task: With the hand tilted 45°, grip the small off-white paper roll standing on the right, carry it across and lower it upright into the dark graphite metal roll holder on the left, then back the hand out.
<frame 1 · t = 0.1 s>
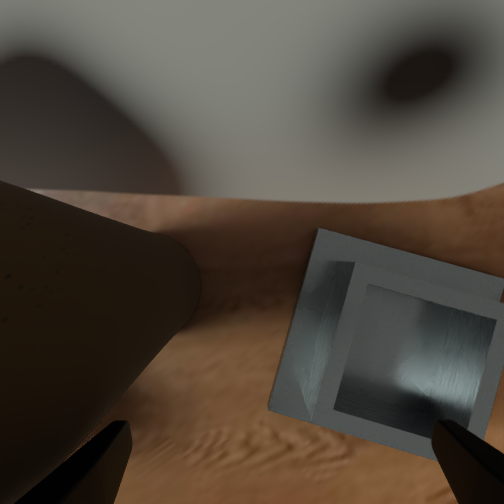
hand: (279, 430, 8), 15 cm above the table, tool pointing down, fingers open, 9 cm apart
roll holder: (380, 341, 23), on the table
olive oil: (150, 284, 24), on the table
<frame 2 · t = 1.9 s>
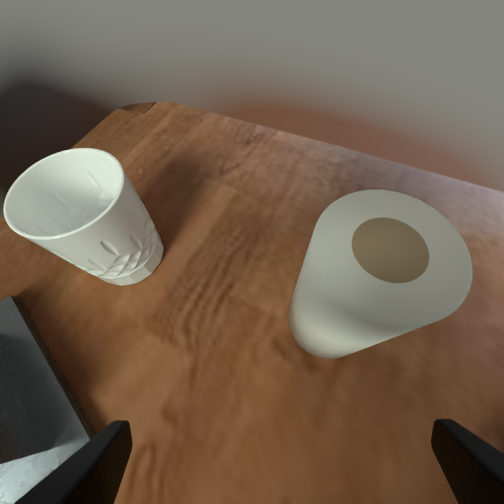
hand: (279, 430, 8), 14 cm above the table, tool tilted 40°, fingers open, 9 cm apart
paper roll: (325, 318, 23), on the table
white cup: (131, 255, 27), on the table
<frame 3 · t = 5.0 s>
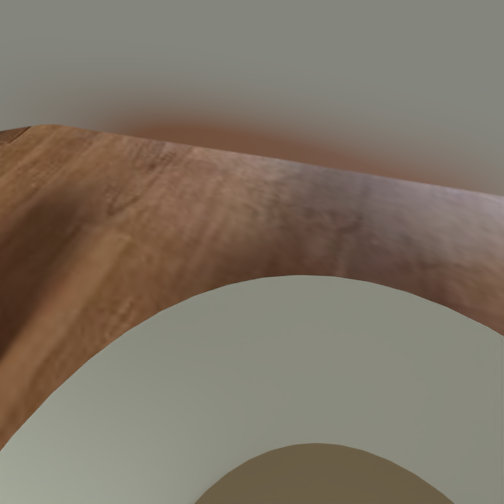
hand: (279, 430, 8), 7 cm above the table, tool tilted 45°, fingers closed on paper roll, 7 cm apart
paper roll: (273, 457, 13), on the table, touching gripper
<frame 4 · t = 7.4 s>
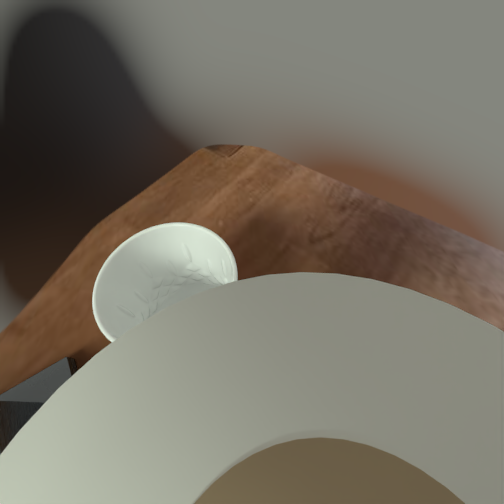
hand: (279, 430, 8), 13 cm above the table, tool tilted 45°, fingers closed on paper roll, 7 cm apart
paper roll: (274, 456, 13), point 7 cm above the table, touching gripper
white cup: (202, 329, 23), on the table
when the fingers open (9 cm above the table, at t = 10.1 s): paper roll drops 1 cm, resting on roll holder.
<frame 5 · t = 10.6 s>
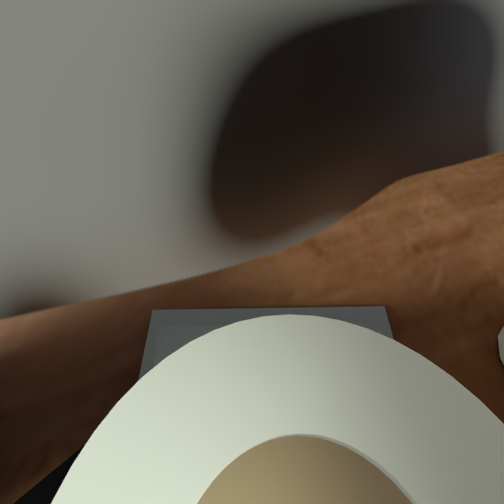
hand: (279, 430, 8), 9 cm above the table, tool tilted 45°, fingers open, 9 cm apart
roll holder: (271, 451, 15), on the table
paper roll: (272, 453, 14), point 1 cm above the table, touching roll holder
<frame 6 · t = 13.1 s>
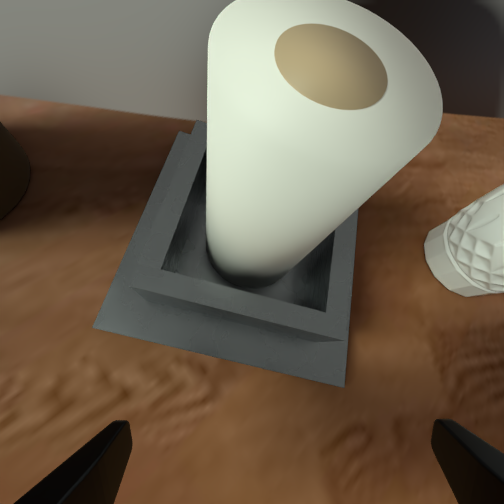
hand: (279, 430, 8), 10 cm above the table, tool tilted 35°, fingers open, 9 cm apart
roll holder: (249, 248, 20), on the table
paper roll: (251, 243, 19), point 1 cm above the table, touching roll holder
white cup: (455, 260, 23), on the table
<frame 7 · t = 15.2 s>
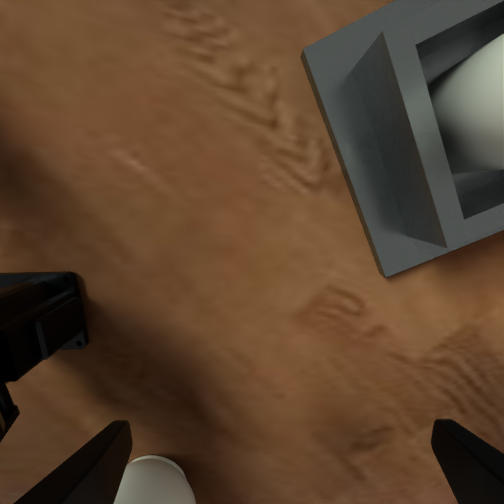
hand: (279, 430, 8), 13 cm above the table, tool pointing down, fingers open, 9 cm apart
lidded jar: (155, 477, 25), on the table
roll holder: (456, 122, 17), on the table
paper roll: (468, 118, 17), point 1 cm above the table, touching roll holder
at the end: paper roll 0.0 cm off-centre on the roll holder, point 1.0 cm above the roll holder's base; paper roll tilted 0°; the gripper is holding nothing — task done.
